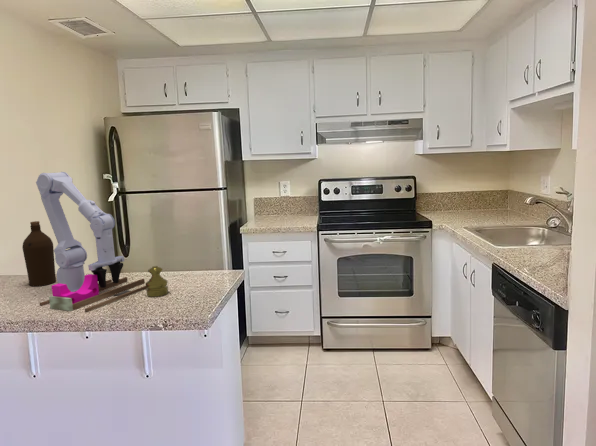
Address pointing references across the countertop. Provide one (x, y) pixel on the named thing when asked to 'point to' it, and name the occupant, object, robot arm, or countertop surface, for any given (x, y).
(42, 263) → the olive oil
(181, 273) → the countertop surface
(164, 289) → the gold tapered round piece
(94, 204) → the robot arm
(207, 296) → the countertop surface
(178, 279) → the countertop surface
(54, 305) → the wooden slat rack
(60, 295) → the magenta curved bracket
